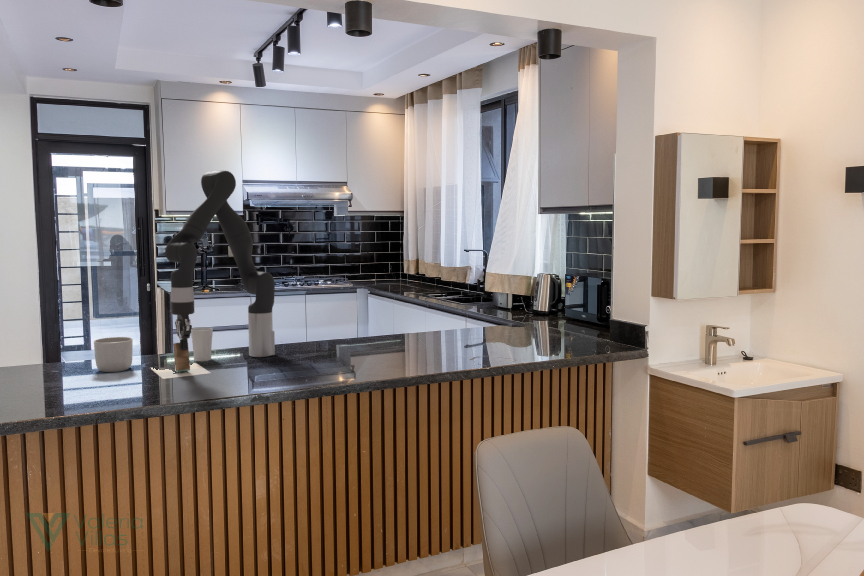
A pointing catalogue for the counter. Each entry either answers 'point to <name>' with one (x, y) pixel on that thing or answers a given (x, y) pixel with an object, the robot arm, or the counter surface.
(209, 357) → the cup
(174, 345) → the walnut block
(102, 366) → the planter
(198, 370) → the cream flat rectangular panel
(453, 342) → the counter surface
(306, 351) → the counter surface
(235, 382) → the counter surface
